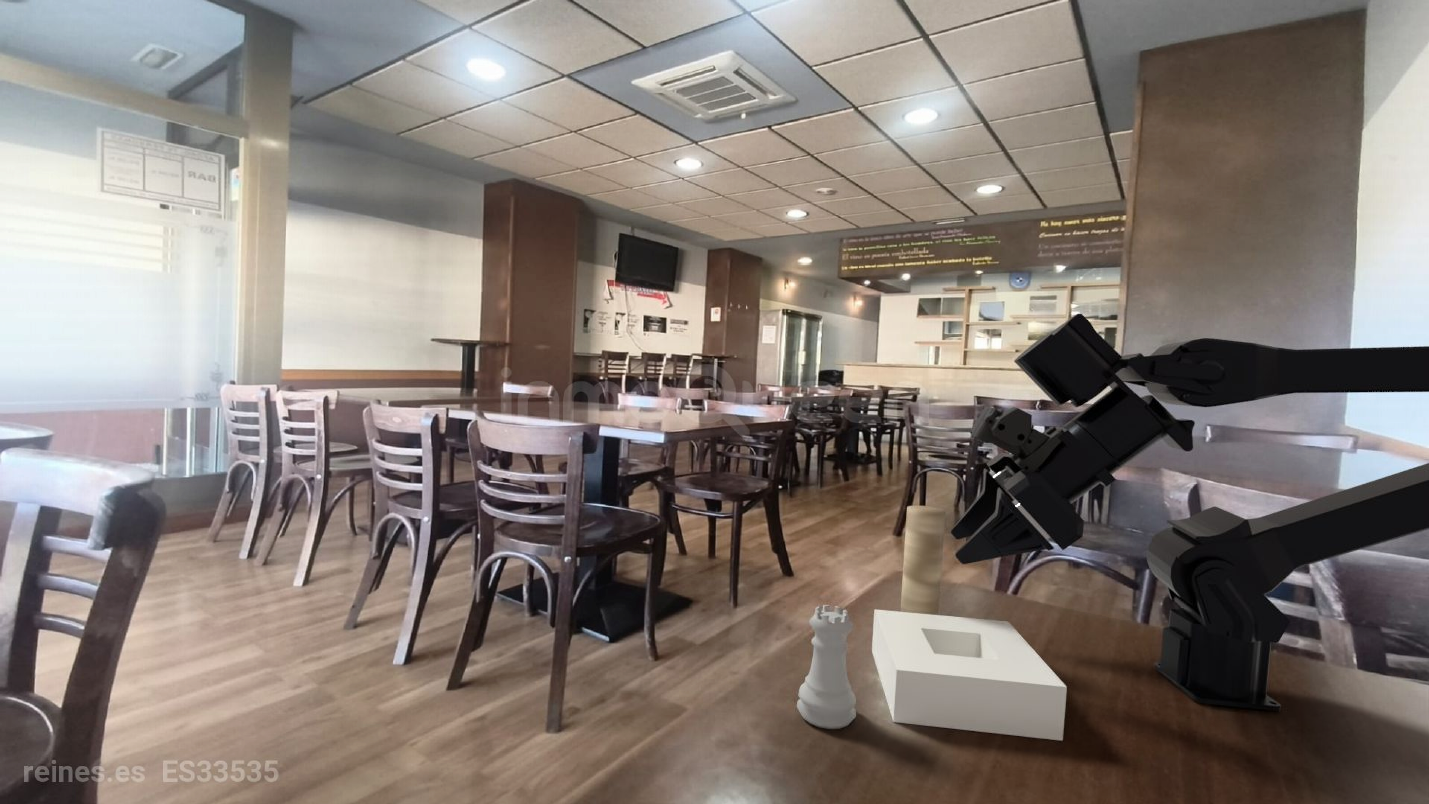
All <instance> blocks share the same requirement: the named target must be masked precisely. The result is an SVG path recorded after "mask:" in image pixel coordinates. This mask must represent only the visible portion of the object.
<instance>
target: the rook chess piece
mask: <svg viewBox="0 0 1429 804" xmlns="http://www.w3.org/2000/svg"><path fill="white" fill-rule="evenodd" d="M842 608H843V607H841V606H838V605H835V606H834V610H833V611H832V610H830V609H831V608H830V604H822V607H821V606H819V605H818V606H816V607H815V609H814V614H813V616H812V617H811V618H810V619H809V625H810V627H811V628H812V629H813V631H814V636H813V637H812V638H811V644H812V646H813V653H812V660H811V665H810V669H809V671H808V675H806V676H805V679H804V682H803V683H802V684H801V685H800V687H799V690H798V694H797V696H798V697H799V699H798V700H797V702H796V703H797V704H796V708H797V710H798V711H799V713H800V715H801V716H802V718H803V720H805V722H808V723H809V724H810V725H813V726H815V727H817V728H821V729H826V730H837V729H838V730H840V729H843V728H845V727H848V726H849V725H850V723H851V722H852V721H853V720H854V719H855V718H856V717H857V712H856V709H855V706H856V705H857V703H856V701H857V700H856V696H855V694H856V693H854V691H853V690H852V688H851V683H850V682H849V680H848V679H849V678H848V675H847V664H846V663H847V662H846V655H847V654H846V651H847V650H848V649H849V648H850V646H849V645H850V644H849V643H848V641H847V636H848V635H849V634H850V632H852V631H853V629H854V625H853V623H852V621H851V620H850V615H849V614H850V613H849V610H847V609H843V610H842Z"/></svg>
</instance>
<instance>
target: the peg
mask: <svg viewBox="0 0 1429 804" xmlns="http://www.w3.org/2000/svg"><path fill="white" fill-rule="evenodd" d="M905 520H906V521H905V531H904V532H905V535H904V550H903V566H902V567H903V569H902V580H901V581H902V582H901V583H902V584H901V595H900V610H899V612H909V613H920V614H931V615H940V603H941V601H940V598H941V586H942V585H941V584H942V572H943V571H942V569H943V555H944V554H943V553H944V541H945V540H944V539H945V526H946V523H945V522H946V510H944V509H943V508H942V509H941V508H938V507H935V506H928V505H908V506H907V507H906V519H905Z"/></svg>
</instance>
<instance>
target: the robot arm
mask: <svg viewBox="0 0 1429 804" xmlns="http://www.w3.org/2000/svg"><path fill="white" fill-rule="evenodd" d="M1013 361H1014V363H1015V364H1016V365H1017V366H1018V367H1019V368H1020V369H1021V370H1022V371H1023V372H1024V374H1026V375H1027V376H1028V378H1029V379H1031V380H1032V381H1033V382H1034V384H1035V385H1036V386H1037V387H1038V388H1039V389H1040V390H1041V391H1042V392H1043V393H1044V394H1045V395H1046V396H1047V397H1048V398H1049V399H1050V400H1051V401H1052V402H1053V403H1054V404H1055V406H1062V405H1064V404H1065V403H1068V402H1069V401H1070V404H1072V406H1073V407H1074V408H1078V407H1081V406H1083V405H1084V404H1087V403H1089V402H1090V401H1091V400H1093V399H1094V398H1096V397H1097V396H1099V395H1100V394H1101V393H1102V392H1103V391H1105V390H1106V389H1107V388H1108V387H1110V390H1109V391H1108V392H1106V393H1105V394H1104V395H1102V396H1101V397H1100V398H1098V399H1097V400H1095V402H1093V403H1092V404H1091V405H1089V406H1088V407H1086V408H1085V409H1084V410H1083V411H1081V412H1080V413H1079V414H1077V415H1076V416H1075V417H1074V418H1072V419H1071V420H1070V421H1068V422H1067V423H1066V424H1064V425H1063V426H1058V425H1056V426H1054V425H1051V426H1050V427H1047V429H1045V430H1044V431H1043V432H1041V431H1039V430H1037V429H1035V428H1033V427H1032V418H1033V415H1032V414H1030V413H1029V412H1026V411H1024V410H1022V409H1021V408H1019V407H1017V406H1012V407H1011V408H1009V409H1007V410H1005V411H1004V412H1001V411H1000V410H998V409H997V408H995V407H992V406H989V405H985V407H984V408H983V410H982V411H981V412H980V414H979V416H978V418H977V419H976V421H975V422H974V424H973V426H972V428H971V429H970V431H969V433H970V434H971V436H973V437H975V438H977V440H980V441H982V442H984V443H985V444H989V443H990V444H992V445H994V446H996V447H998V448H1000V449H1002V450H1003V451H1006V452H1007V453H1006V452H1005V453H1004V452H999V453H998V454H997V455H995V456H994V457H993V458H991V459H990V460H988V462H986V465H987V466H988V468H989V469H990V470H991V471H992V472H991V473H990V472H989V470H987V469H986V468H983V482H982V483H983V484H982V490H981V492H980V493H979V494H978V496H977V497H976V498H975V500H974V501H973V502H972V503H971V505H970V506H969V507H968V508H967V509H966V511H965V512H964V514H963V515H962V516H961V517H960V518H959V520H958V521H957V522H956V523H955V525H953V527H952V528H951V529H950V534H951V535H952V536H953V537H954V539H955V540H961V539H964V538H968V537H969V538H968V539H967V540H966V541H965V542H964V543H963V545H961V546H960V548H959V549H958V550H957V551H956V552H955V554H954V555H955V558H956V559H957V560H958V561H959V562H960V563H961V565H968V564H972V563H973V564H974V563H978V562H983V561H988V560H992V559H993V560H994V559H998V558H1004V557H1009V556H1015V555H1021V554H1027V553H1033V552H1040V551H1049V552H1050V551H1053V550H1055V547H1054V546H1053V545H1052V543H1051V542H1050V541H1049V540H1050V539H1052V540H1053V541H1054V542H1055V544H1056V545H1057V546H1058V547H1059V548H1060V549H1061V550H1062V551H1065V550H1066V549H1067V548H1068V547H1070V546H1071V545H1073V544H1075V543H1076V542H1077V541H1078V540H1080V539H1081V538H1083V537H1084V536H1083V535H1084V524H1085V520H1084V519H1083V518H1082V517H1081V516H1080V515H1079V514H1078V513H1077V512H1076V511H1075V510H1076V507H1075V506H1074V505H1073V503H1074V502H1076V501H1077V500H1079V499H1081V497H1083V496H1084V495H1086V494H1087V493H1088V492H1089V491H1092V489H1094V488H1095V487H1097V486H1098V485H1099V484H1101V485H1102V486H1104V487H1106V488H1107V487H1108V486H1109V485H1111V484H1112V483H1113V482H1115V481H1116V480H1117V478H1116V477H1115V476H1113V474H1115V473H1117V472H1118V471H1119V470H1121V469H1122V468H1123V467H1125V466H1126V465H1127V464H1129V463H1131V462H1132V461H1133V460H1134V459H1136V458H1137V457H1138V456H1140V455H1141V454H1143V453H1144V452H1146V451H1147V450H1148V449H1150V448H1151V447H1152V446H1154V445H1155V444H1156V443H1158V442H1160V441H1161V440H1163V442H1164V443H1166V445H1167V446H1168V447H1170V448H1171V449H1175V450H1179V451H1184V452H1191V451H1193V449H1194V438H1193V437H1194V436H1193V430H1194V427H1195V425H1196V422H1195V421H1194V420H1193V419H1188V418H1176V417H1175V415H1173V414H1172V413H1171V412H1170V411H1169V410H1168V409H1167V408H1166V407H1165V406H1164V405H1162V403H1164V404H1168V405H1173V406H1174V405H1175V406H1183V407H1184V406H1186V407H1199V408H1214V407H1221V406H1227V405H1232V404H1242V403H1245V402H1246V403H1248V402H1254V401H1257V400H1258V401H1259V400H1263V399H1264V400H1265V399H1267V398H1272V397H1277V396H1284V395H1291V394H1322V393H1323V394H1325V393H1327V394H1328V393H1331V394H1332V393H1333V394H1335V393H1337V394H1338V393H1339V394H1340V393H1341V394H1342V393H1343V394H1346V393H1351V394H1352V393H1356V394H1357V393H1429V345H1423V346H1421V345H1420V346H1387V347H1385V346H1384V347H1383V346H1381V347H1352V348H1351V347H1348V348H1315V349H1314V348H1308V349H1303V348H1302V349H1294V348H1284V347H1278V346H1277V347H1276V346H1271V345H1266V344H1260V343H1255V342H1247V341H1246V342H1245V341H1238V340H1230V339H1221V338H1212V337H1210V338H1208V337H1203V338H1196V339H1191V340H1186V341H1180V342H1178V341H1177V342H1172V343H1167V344H1164V345H1162V346H1159V347H1158V348H1157V349H1155V350H1154V351H1153V352H1152V353H1151V354H1150V355H1145V356H1144V354H1142V353H1141V352H1138V353H1133V354H1132V353H1131V354H1125V355H1123V356H1122V355H1121V354H1120V353H1119V352H1118V351H1117V350H1116V349H1114V347H1113V346H1111V345H1110V344H1109V342H1108V341H1107V340H1105V338H1104V337H1102V336H1101V335H1100V334H1099V333H1098V332H1097V331H1096V329H1095V327H1094V326H1093V324H1092V323H1091V321H1089V319H1088V318H1087V317H1086V316H1084V315H1083V314H1082V313H1076V314H1074V315H1072V316H1071V317H1070V318H1068V319H1067V320H1066V321H1065V322H1064V323H1062V324H1061V325H1059V326H1058V327H1057V328H1055V329H1054V330H1052V331H1051V332H1050V333H1049V334H1047V335H1044V336H1042V337H1040V338H1039V339H1038V340H1036V341H1035V342H1033V343H1032V344H1031V345H1029V347H1027V348H1026V349H1025V350H1024V351H1023V352H1022V353H1020V355H1018V356H1017V357H1016V358H1015V359H1014V360H1013ZM1127 384H1131V385H1135V386H1140V387H1144V388H1146V389H1147V391H1148V392H1149V393H1150V394H1151V395H1150V394H1148V395H1144V396H1139V395H1138V394H1137V393H1136V392H1135V391H1134V390H1132V388H1130V387H1129V386H1128V385H1127ZM1161 402H1162V403H1161ZM1166 524H1168V526H1170V527H1167V528H1165V529H1162V530H1161V531H1159V532H1157V533H1156V534H1154V535H1153V536H1152V537H1151V539H1150V540H1151V541H1150V542H1149V544H1148V547H1147V550H1146V561H1147V565H1148V567H1149V570H1150V571H1151V573H1152V575H1154V576H1155V578H1157V580H1159V581H1160V582H1162V583H1163V585H1165V587H1166V590H1167V593H1168V596H1169V598H1170V599H1171V600H1172V601H1173V602H1175V603H1177V604H1178V605H1179V606H1180V608H1178V609H1174V608H1173V609H1171V608H1170V609H1169V618H1168V626H1167V625H1166V626H1164V628H1163V629H1162V640H1161V653H1160V662H1157V661H1156V662H1153V663H1154V664H1153V665H1154V666H1153V668H1154V669H1155V670H1156V671H1157V672H1158V673H1160V675H1162V676H1163V677H1164V678H1166V680H1168V681H1169V682H1171V683H1172V684H1173V685H1174V686H1176V687H1177V688H1179V689H1180V690H1181V691H1182V692H1184V694H1186V695H1187V696H1188V697H1189V698H1191V699H1192V700H1193V701H1195V702H1197V703H1201V704H1207V705H1216V706H1224V707H1225V706H1226V707H1235V708H1242V709H1243V708H1245V709H1252V710H1254V709H1256V710H1264V711H1265V710H1266V711H1274V712H1280V711H1281V710H1282V705H1281V703H1279V702H1278V701H1277V700H1275V699H1274V698H1272V697H1271V696H1269V695H1267V693H1268V691H1267V689H1268V682H1269V681H1268V680H1269V670H1270V659H1271V658H1270V657H1271V649H1272V647H1271V646H1272V644H1277V643H1279V642H1280V641H1281V639H1282V637H1283V635H1285V632H1286V631H1287V629H1288V626H1289V625H1290V624H1291V623H1290V622H1291V621H1290V619H1289V618H1288V617H1287V616H1286V615H1285V614H1284V613H1283V612H1282V611H1281V610H1280V608H1278V607H1277V606H1276V605H1275V604H1274V603H1273V602H1272V601H1271V600H1270V599H1269V598H1268V597H1267V596H1266V595H1267V594H1270V593H1272V592H1273V591H1274V590H1276V589H1277V588H1278V587H1279V586H1280V584H1282V583H1283V582H1284V581H1285V580H1286V579H1287V578H1288V577H1289V576H1290V575H1292V574H1293V572H1295V571H1297V570H1298V569H1300V568H1303V567H1306V566H1310V565H1312V564H1315V563H1318V562H1322V561H1325V560H1329V559H1333V558H1335V557H1339V556H1342V555H1346V554H1349V553H1353V552H1357V551H1360V550H1362V549H1367V548H1369V547H1373V546H1377V545H1380V544H1383V543H1386V542H1387V543H1388V542H1390V541H1394V540H1396V539H1400V538H1404V537H1407V536H1410V535H1413V534H1417V533H1420V532H1424V531H1427V530H1429V462H1427V463H1424V464H1422V465H1418V466H1416V467H1412V468H1408V469H1406V470H1402V471H1400V472H1396V473H1393V474H1391V475H1390V474H1389V475H1387V476H1384V477H1381V478H1378V479H1375V480H1372V481H1369V482H1366V483H1363V484H1359V485H1356V486H1352V487H1349V488H1347V489H1343V490H1341V491H1340V490H1339V491H1337V492H1334V493H1331V494H1328V495H1325V496H1322V497H1318V498H1316V499H1313V500H1309V501H1306V502H1303V503H1300V504H1297V505H1294V506H1290V507H1287V508H1285V509H1281V510H1279V511H1274V512H1272V513H1270V514H1266V515H1263V516H1259V517H1255V518H1244V517H1241V516H1240V515H1237V514H1235V513H1233V512H1231V511H1227V510H1226V509H1223V508H1221V507H1218V506H1212V507H1209V508H1206V509H1203V510H1202V511H1200V512H1198V513H1196V514H1194V515H1192V516H1189V517H1186V518H1182V519H1167V520H1166Z"/></svg>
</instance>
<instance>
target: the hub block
mask: <svg viewBox="0 0 1429 804" xmlns="http://www.w3.org/2000/svg"><path fill="white" fill-rule="evenodd" d="M872 627H873V628H872V640H871V641H872V642H871V643H872V644H871V652H872V657H873V660H874V663H875V666H876V670H877V672H878V673H877V674H878V676H879V679H880V682H881V683H880V684H881V685H882V689H883V692H884V694H885V699H886V702H887V705H888V708H889V712H890V715H891V718H892V722H893V723H901V724H908V725H909V724H910V725H917V726H927V727H936V728H946V729H955V730H961V731H962V730H963V731H974V732H981V733H991V734H998V735H1009V736H1016V737H1017V736H1019V737H1026V738H1036V739H1044V740H1046V739H1047V740H1054V741H1064V740H1063V739H1064V728H1065V717H1066V716H1065V715H1066V703H1067V689H1068V688H1067V685H1066V684H1065V683H1064V682H1063V681H1062V680H1061V679H1060V678H1059V676H1058V675H1057V674H1056V673H1055V672H1054V670H1052V669H1051V667H1049V665H1048V664H1047V663H1046V662H1045V661H1044V660H1043V659H1042V658H1041V656H1040V655H1039V654H1038V653H1037V652H1036V651H1035V649H1033V647H1032V646H1031V645H1030V644H1029V643H1028V642H1027V640H1026V639H1024V638H1023V637H1022V635H1021V634H1020V633H1019V632H1018V631H1017V629H1015V627H1014V626H1013V625H1012V624H1011V623H1010V621H1006V620H994V619H985V618H984V619H982V618H974V617H973V618H972V617H962V616H961V617H959V616H952V615H951V616H950V615H940V614H939V615H931V614H920V613H909V612H900V611H897V610H885V609H874V612H873V626H872Z"/></svg>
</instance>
